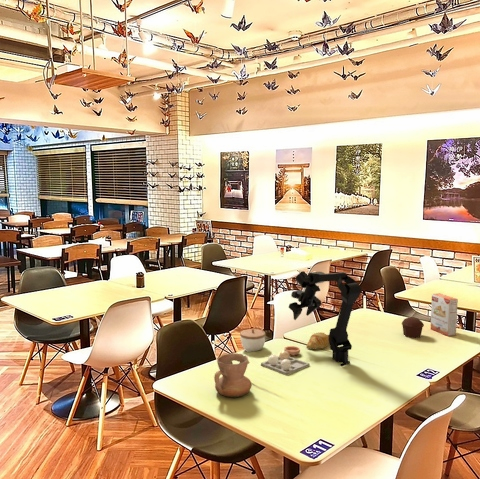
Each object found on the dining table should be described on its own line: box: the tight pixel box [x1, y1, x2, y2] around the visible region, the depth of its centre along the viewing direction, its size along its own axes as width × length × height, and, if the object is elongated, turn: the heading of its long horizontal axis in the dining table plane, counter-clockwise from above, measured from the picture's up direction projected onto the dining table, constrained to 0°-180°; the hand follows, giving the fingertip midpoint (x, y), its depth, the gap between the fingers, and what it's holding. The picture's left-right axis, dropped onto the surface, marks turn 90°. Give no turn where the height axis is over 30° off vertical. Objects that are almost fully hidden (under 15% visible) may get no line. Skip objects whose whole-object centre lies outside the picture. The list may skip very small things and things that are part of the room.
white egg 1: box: [267, 354, 279, 366], centre depth 207 cm, size 5×5×5 cm
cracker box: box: [430, 293, 459, 337], centre depth 256 cm, size 14×6×21 cm, turn 17°
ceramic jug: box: [213, 352, 252, 398], centre depth 181 cm, size 18×14×14 cm
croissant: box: [305, 332, 330, 350], centre depth 237 cm, size 21×10×8 cm, turn 139°
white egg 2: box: [281, 359, 291, 370], centre depth 201 cm, size 5×5×5 cm
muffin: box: [401, 316, 425, 339], centre depth 251 cm, size 12×11×10 cm
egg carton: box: [260, 356, 310, 376], centre depth 207 cm, size 16×16×2 cm
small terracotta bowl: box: [283, 345, 301, 357], centre depth 221 cm, size 7×7×4 cm
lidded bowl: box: [240, 328, 266, 353], centre depth 229 cm, size 13×13×11 cm
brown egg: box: [278, 350, 291, 360], centre depth 212 cm, size 5×5×5 cm
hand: (300, 317), depth 238 cm, fingers open, 9 cm apart
